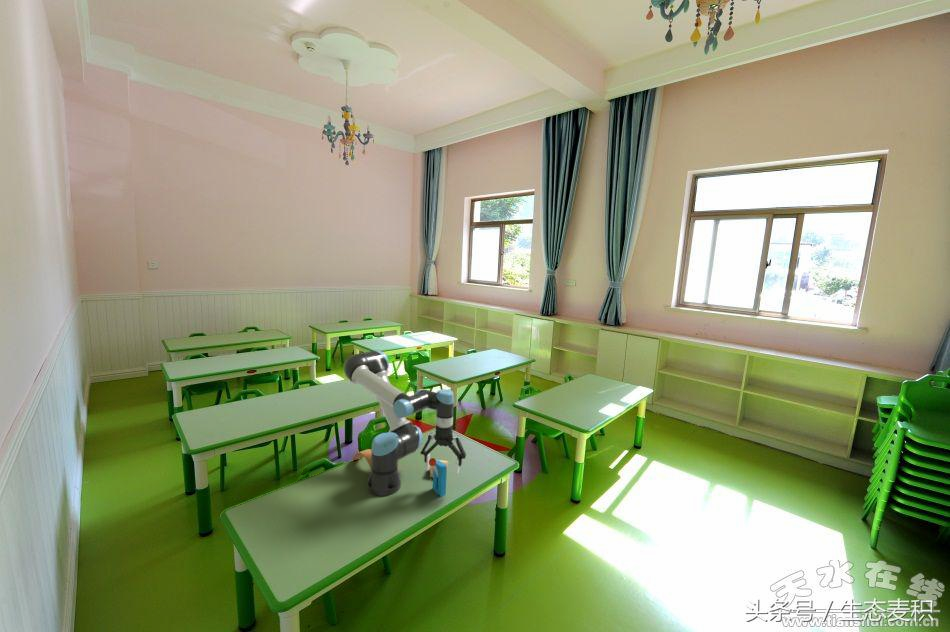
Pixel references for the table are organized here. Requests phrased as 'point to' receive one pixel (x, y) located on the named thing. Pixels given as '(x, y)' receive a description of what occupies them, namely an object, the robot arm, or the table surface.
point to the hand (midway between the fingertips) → (442, 470)
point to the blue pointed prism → (439, 476)
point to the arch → (366, 454)
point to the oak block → (432, 467)
